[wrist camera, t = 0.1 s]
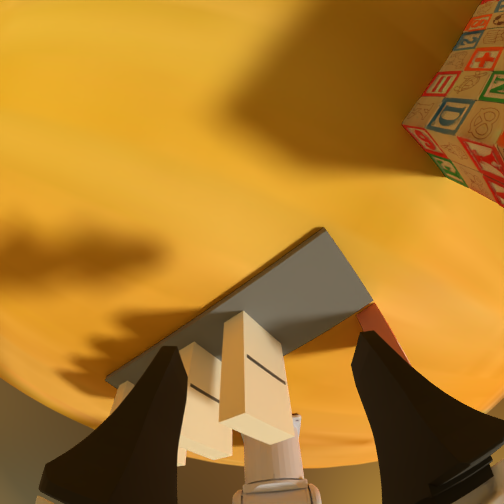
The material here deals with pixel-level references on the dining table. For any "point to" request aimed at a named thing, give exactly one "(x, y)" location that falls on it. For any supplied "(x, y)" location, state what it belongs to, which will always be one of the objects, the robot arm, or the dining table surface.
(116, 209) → the dining table surface
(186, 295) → the dining table surface
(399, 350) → the red domino
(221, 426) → the ivory domino
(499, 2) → the stack of blocks
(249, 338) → the ivory domino
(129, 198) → the dining table surface
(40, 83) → the dining table surface
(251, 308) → the domino mat
